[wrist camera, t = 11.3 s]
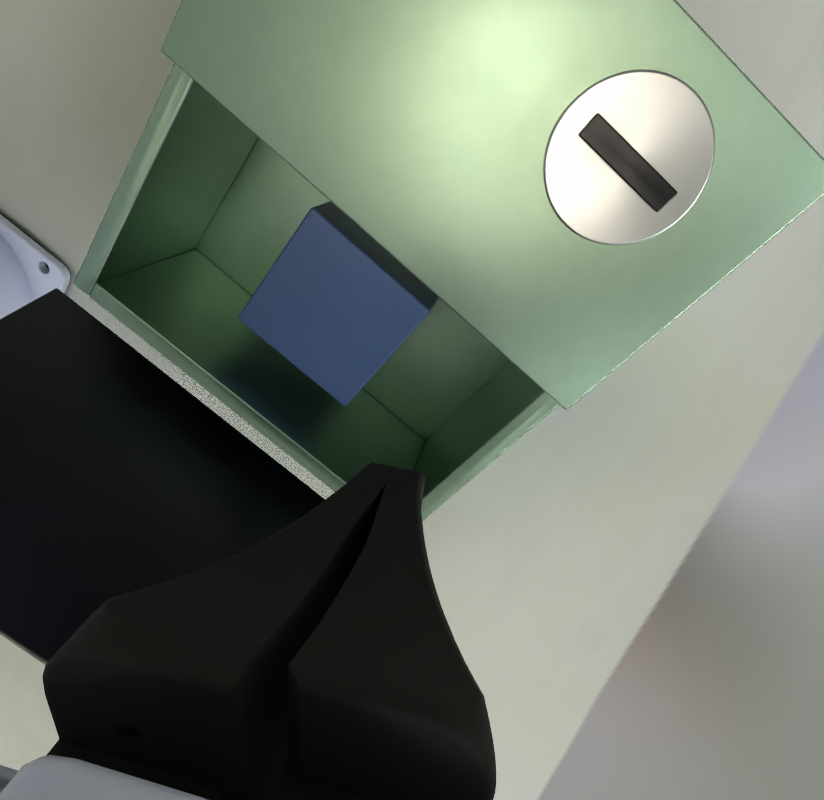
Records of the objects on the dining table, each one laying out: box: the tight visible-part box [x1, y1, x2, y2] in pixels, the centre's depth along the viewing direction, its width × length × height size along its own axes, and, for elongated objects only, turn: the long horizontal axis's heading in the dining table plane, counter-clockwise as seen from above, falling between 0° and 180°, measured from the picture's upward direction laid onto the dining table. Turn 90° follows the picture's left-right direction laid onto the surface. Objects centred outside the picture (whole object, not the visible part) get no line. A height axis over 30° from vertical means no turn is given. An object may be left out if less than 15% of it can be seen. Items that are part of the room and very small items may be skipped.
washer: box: [74, 0, 824, 521], centre depth 17 cm, size 15×13×7 cm
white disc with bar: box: [543, 69, 715, 245], centre depth 11 cm, size 10×3×2 cm, turn 51°
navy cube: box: [238, 201, 439, 406], centre depth 19 cm, size 5×5×4 cm
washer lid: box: [0, 288, 325, 665], centre depth 15 cm, size 8×13×1 cm
